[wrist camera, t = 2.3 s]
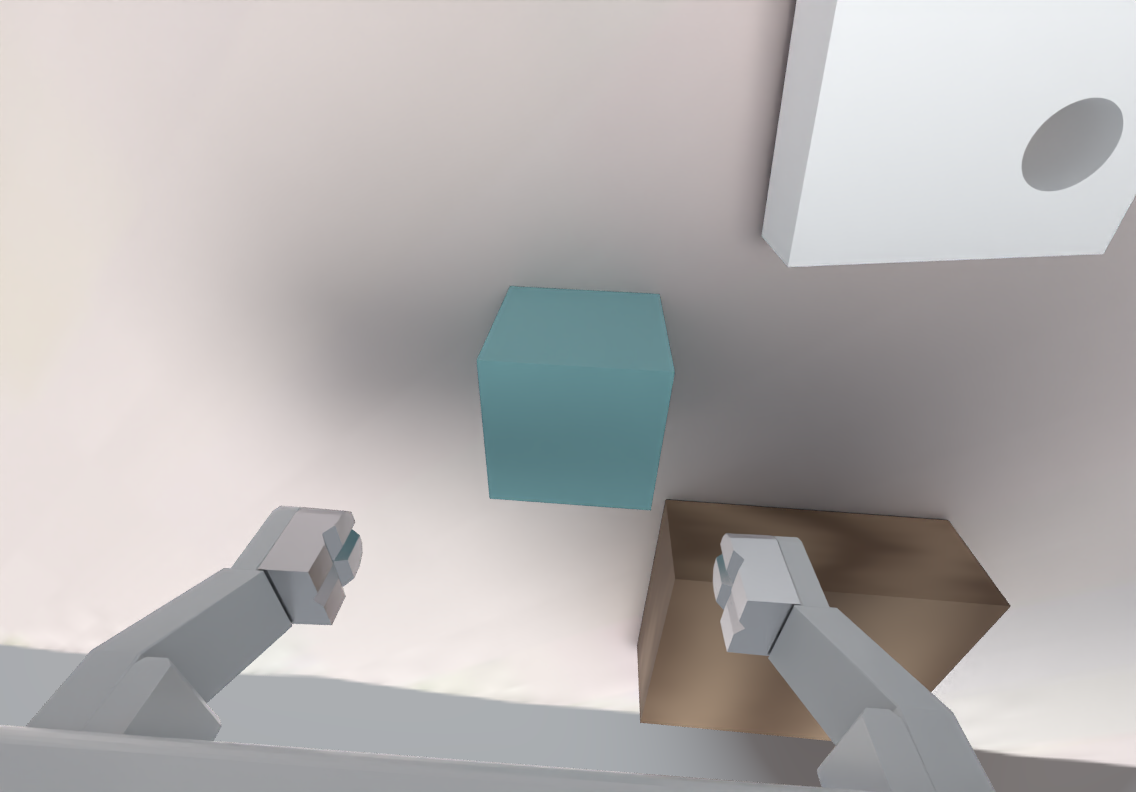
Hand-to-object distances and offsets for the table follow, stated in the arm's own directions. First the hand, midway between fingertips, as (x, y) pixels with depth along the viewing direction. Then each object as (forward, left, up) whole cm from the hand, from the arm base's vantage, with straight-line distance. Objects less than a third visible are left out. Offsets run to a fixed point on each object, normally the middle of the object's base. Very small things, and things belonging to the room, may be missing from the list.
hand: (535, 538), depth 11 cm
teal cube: (-1, 0, -9) cm, 9 cm away
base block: (-11, +13, -8) cm, 19 cm away
